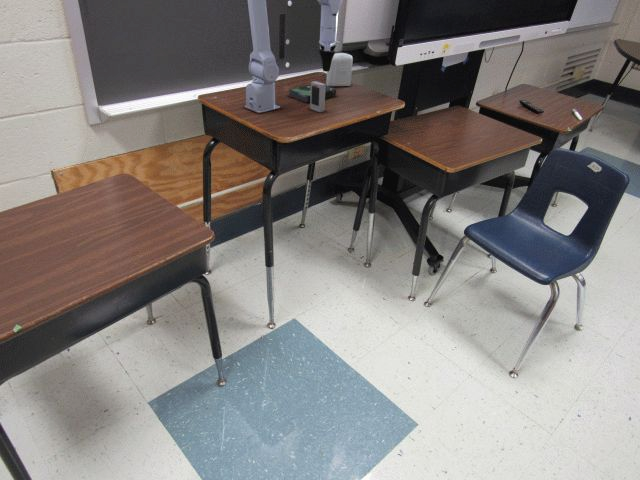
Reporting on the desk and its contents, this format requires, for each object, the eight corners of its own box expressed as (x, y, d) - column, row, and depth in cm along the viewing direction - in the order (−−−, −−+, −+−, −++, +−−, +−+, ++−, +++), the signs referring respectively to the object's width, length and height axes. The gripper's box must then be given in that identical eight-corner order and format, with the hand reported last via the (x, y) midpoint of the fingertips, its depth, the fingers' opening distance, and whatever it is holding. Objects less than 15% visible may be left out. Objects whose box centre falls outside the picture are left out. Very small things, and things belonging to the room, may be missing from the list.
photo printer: (348, 83, 186) (350, 51, 179) (352, 86, 182) (354, 54, 176) (324, 84, 183) (326, 52, 176) (328, 87, 179) (330, 54, 172)
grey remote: (319, 112, 153) (320, 85, 148) (309, 108, 156) (310, 82, 151) (324, 111, 154) (325, 84, 149) (314, 107, 157) (315, 81, 152)
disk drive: (316, 90, 176) (288, 96, 167) (317, 82, 174) (288, 88, 165) (336, 96, 170) (307, 103, 161) (336, 89, 168) (308, 95, 159)
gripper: (340, 31, 149) (337, 74, 156) (340, 24, 161) (337, 64, 168) (319, 30, 149) (317, 73, 156) (320, 23, 161) (318, 63, 168)
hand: (326, 68), depth 162 cm, fingers open, 7 cm apart
